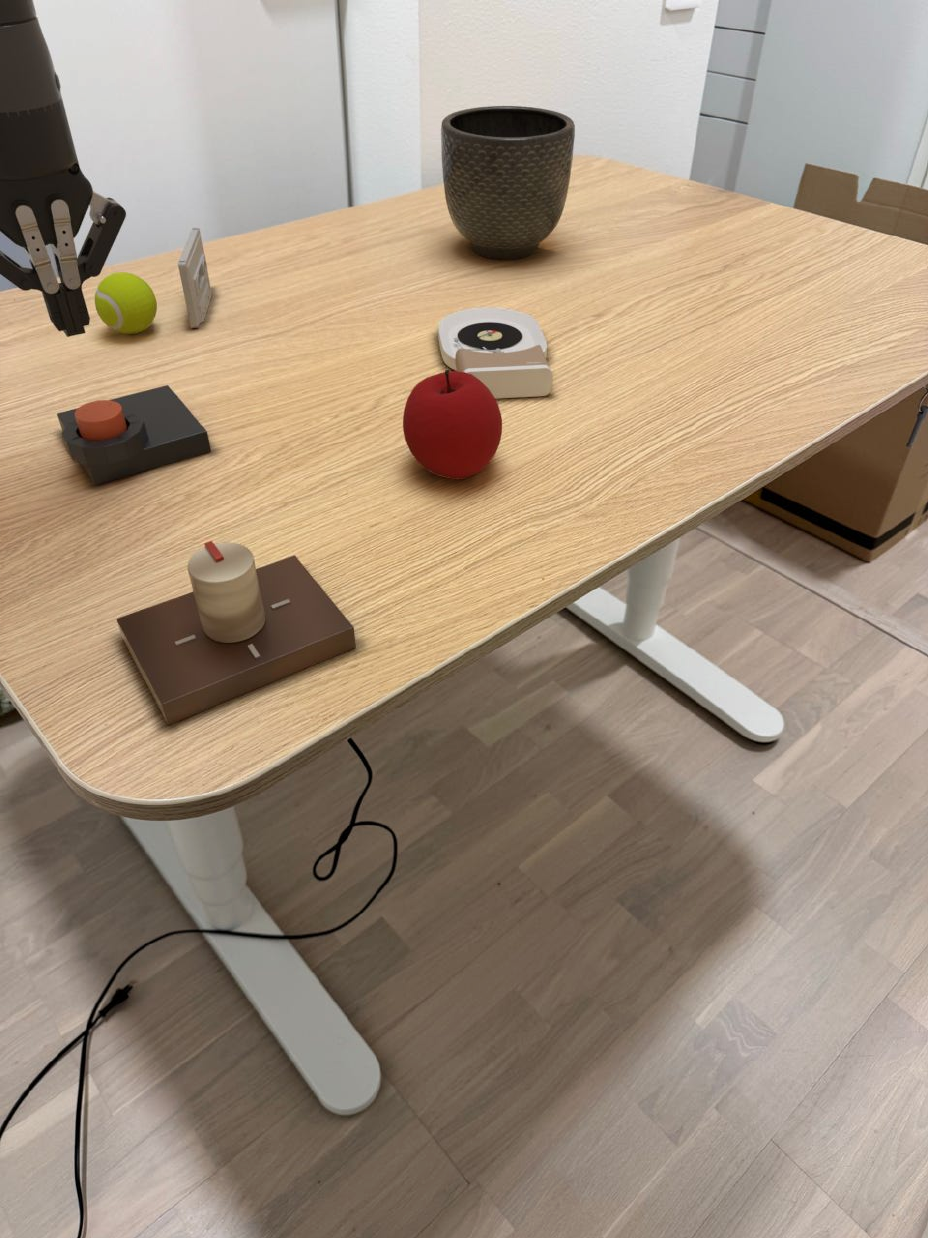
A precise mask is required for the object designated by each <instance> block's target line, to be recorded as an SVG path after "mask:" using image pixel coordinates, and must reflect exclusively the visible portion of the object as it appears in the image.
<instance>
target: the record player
mask: <svg viewBox="0 0 928 1238" xmlns="http://www.w3.org/2000/svg"><path fill="white" fill-rule="evenodd" d="M437 336H438V337H437V338H438V339H437V340H438V345H439V351H440V354H441V357H442V361H443V362H444V364H445V365H446V366H447V367H449V368H451V369H452V370H453V371H459V372H465V373H469V374H472V375H473V376H475V377H476V378H477V379H479V380H480V381H481V382H483V383H484V384H485V385H486V386H487V387H488V388H489V390H490V391H491V393H492V395H493V396H494V398H495V400H497V399H512V398H513V399H515V398H534V397H547V396H548V395H549V394H550V393H551V391H552V388H553V382H554V381H553V380H554V378H553V377H554V376H553V372H552V370H551V367H550V365H549V362H548V360H547V355H548V354H547V353H548V342H547V340H546V337H545V334H544V332H543V329H542V327H541V325H540V323H539V322H538V320H536V319H535V318H534V317H533V316H531V315H530V314H528V313H526V312H522V311H520V310H515V309H510V308H505V307H495V306H493V307H492V306H484V307H483V306H482V307H481V306H480V307H472V308H466V309H461V310H458V311H455V312H452V313H450V314H447V315H446V316H444V317H443V318H442V319H441V320H440V321H439V323H438V325H437Z"/></svg>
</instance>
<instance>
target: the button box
mask: <svg viewBox="0 0 928 1238" xmlns="http://www.w3.org/2000/svg"><path fill="white" fill-rule="evenodd" d="M109 400H110V401H115V402H117V403H119V404H120V405H121V407H122V411H123V414H124V418H125V421H126V425H127V430H126V431H125V432H123V433H122V434H120V435H119V436H117V437H114V438H110V439H107V440H94V441H90V440H86V439H83V438H82V436H81V434H80V431H79V428H78V425H77V421H76V418H75V412H76V410H77V409H78V408H79V407H77V408H73V409H68V410H65V411H61V412H58V413H56V416H57V420H58V422H59V426H60V428H61V431H62V432H61V438H62V439H63V440H62V441H63V443H64V446H65V448H66V452H67V453H68V455H69V457H70V458H71V460H72V461H74V462H78V463H81V464H80V465H82V467H83V469H84V470H85V472H86V474H87V475H88V477H89V478H90V481H91V482H92V483H93V485H94V486H98V485H101V484H105V483H109V482H112V481H115V480H118V479H122V478H125V477H129V476H132V475H135V474H139V473H143V472H146V471H149V470H152V469H156V468H160V467H163V466H166V465H169V464H173V463H176V462H179V461H183V460H186V459H189V458H193V457H196V456H199V455H203V454H207V453H209V452H212V449H211V444H210V443H211V442H210V440H209V435H208V434H209V433H208V430H207V429H206V428H205V427H204V426H203V425H202V423H200V421H199V420H198V419H197V418H196V416H195V415H194V414H193V413H192V412H191V410H190V409H189V408H188V407H187V406H186V404H184V402H183V401H182V399H180V398H179V396H178V395H177V394H176V393H175V391H173V389H172V388H171V387H170V385H168V384H165V385H162V386H161V385H160V386H158V387H154V388H150V389H146V390H142V391H139V392H135V393H131V394H127V395H123V396H119V397H116V398H112V399H109Z"/></svg>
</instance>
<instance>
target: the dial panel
mask: <svg viewBox="0 0 928 1238" xmlns="http://www.w3.org/2000/svg"><path fill="white" fill-rule="evenodd" d="M256 571H257V577H258V582H259V587H260V592H261V597H262V603H263V608H264V613H265V623H264V625H263V627H262V629H261V630H260V631H259V632H258V633H257V634H255V635H254V636H252V637H250V638H248V639H246V640H243V641H240V642H234V643H223V642H218V641H215V640H212V639H211V638H209V637H208V636H207V635H206V634H205V633H204V631H203V627H202V623H201V619H200V616H199V612H198V608H197V604H196V600H195V596H194V592H193V591H190V592H187V593H184V594H182V595H180V596H177V597H174V598H171V599H168V600H165V601H163V602H159V603H157V604H154V605H151V606H149V607H146V608H142V609H140V610H138V611H134V612H132V613H129V614H126V615H124V616H120V617H118V618H116V620H115V621H116V624H117V625H118V630H119V632H120V635H121V638H122V640H123V642H124V644H125V646H126V647H127V648H126V649H127V650H128V652H129V654H130V655H131V657H132V659H133V661H134V663H135V665H136V667H137V669H138V671H139V672H140V675H141V676H142V678H143V680H144V683H145V684H146V686H147V688H148V690H149V692H150V693H151V695H152V698H153V699H154V701H155V703H156V705H157V707H158V708H159V711H160V712H161V715H162V716H163V719H164V720H165V722H166V724H167V725H168V726H170V725H172V724H174V723H177V722H179V721H182V720H185V719H186V718H187V719H188V718H189V717H191V716H194V715H197V714H199V713H201V712H204V711H206V710H208V709H211V708H213V707H216V706H218V705H221V704H223V703H225V702H227V701H228V702H229V701H230V700H232V699H235V698H237V697H239V696H242V695H245V694H247V693H250V692H251V691H254V690H256V689H259V688H261V687H264V686H266V685H269V684H272V683H274V682H276V681H278V680H281V679H283V678H286V677H288V676H290V675H293V674H295V673H297V672H300V671H302V670H305V669H307V668H310V667H312V666H315V665H317V664H319V663H322V662H324V661H327V660H329V659H332V658H333V657H336V656H338V655H342V654H343V653H346V652H349V651H350V650H353V649H355V648H356V647H357V645H356V634H355V626H353V624H352V623H351V622H350V620H349V619H348V617H346V616H345V614H344V613H343V612H342V611H341V609H340V608H338V605H336V603H335V602H334V601H333V600H332V598H330V596H329V595H328V594H327V593H326V591H325V590H324V589H323V588H322V586H321V585H320V584H319V583H318V582H317V580H316V579H315V578H314V577H313V575H312V574H311V573H310V572H309V571H308V570H307V568H306V567H305V565H304V564H303V563H302V562H301V560H300V559H298V557H297V556H296V554H295V555H291V556H288V557H286V558H282V559H280V560H277V561H274V562H271V563H268V564H266V565H263V566H260V567H256Z"/></svg>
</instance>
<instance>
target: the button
mask: <svg viewBox="0 0 928 1238" xmlns="http://www.w3.org/2000/svg"><path fill="white" fill-rule="evenodd" d="M110 400H111V399H101V400H94V401H90V402H87V403H84V404H82V405H81V406H79V407H77V408H78V409H77V408H76V409H77V410H76V412H75V418H76V421H77V425H78V428H79V431H80V434H81V436H82V438H83V439H86V440H90V441H94V440H107V439H110V438H114V437H117V436H119V435H120V434H122V433H123V432H125V431H126V430H127V425H126V421H125V418H124V414H123V411H122V407H121V405H120V404H119V403H117V402H115V401H110Z"/></svg>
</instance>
